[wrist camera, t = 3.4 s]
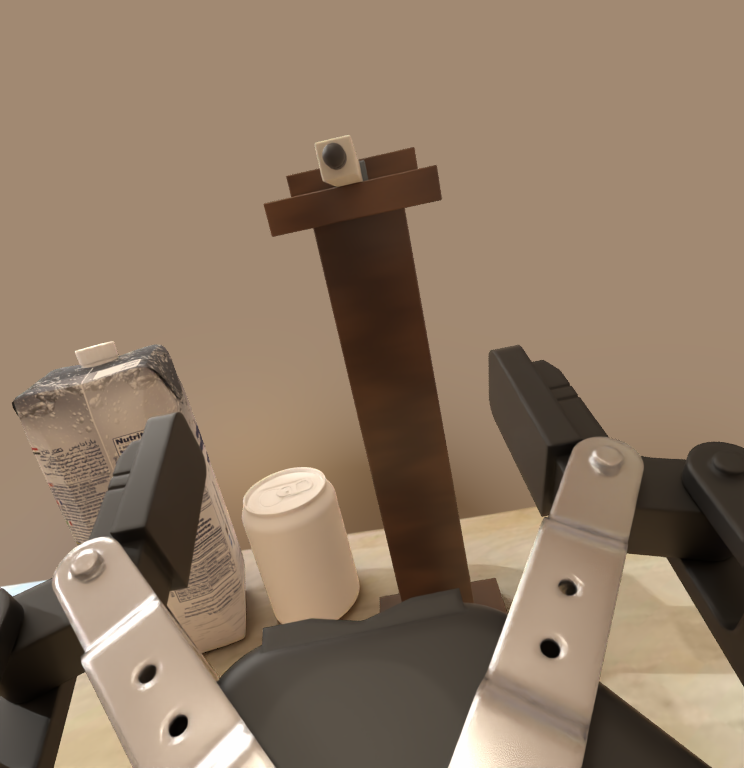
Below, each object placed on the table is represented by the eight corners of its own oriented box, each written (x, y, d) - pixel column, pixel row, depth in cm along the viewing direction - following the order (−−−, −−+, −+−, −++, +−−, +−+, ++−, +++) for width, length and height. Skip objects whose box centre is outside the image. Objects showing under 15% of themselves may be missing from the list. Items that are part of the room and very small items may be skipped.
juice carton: (258, 644, 44) (149, 344, 35) (132, 689, 42) (-17, 385, 33) (255, 578, 52) (166, 322, 43) (150, 613, 50) (34, 354, 41)
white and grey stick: (308, 182, 15) (298, 139, 15) (340, 192, 31) (336, 171, 31) (366, 168, 15) (358, 125, 15) (369, 185, 31) (365, 164, 31)
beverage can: (271, 587, 50) (236, 482, 46) (350, 559, 52) (322, 455, 48) (279, 649, 43) (237, 530, 39) (371, 615, 44) (339, 496, 40)
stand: (385, 727, 34) (231, 171, 23) (382, 610, 44) (274, 180, 33) (534, 705, 34) (453, 120, 22) (497, 591, 44) (428, 145, 32)
